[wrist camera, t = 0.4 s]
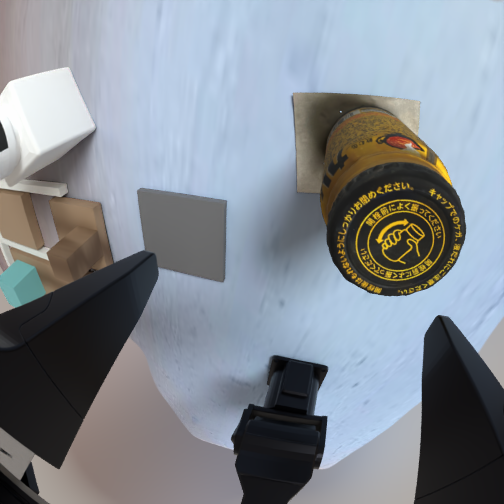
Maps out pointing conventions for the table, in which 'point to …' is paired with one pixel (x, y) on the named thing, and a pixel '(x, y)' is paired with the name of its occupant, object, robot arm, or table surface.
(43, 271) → the strip
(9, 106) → the medicine bottle
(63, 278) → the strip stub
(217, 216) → the coaster
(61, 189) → the board
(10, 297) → the cube
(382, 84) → the table surface
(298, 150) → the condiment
